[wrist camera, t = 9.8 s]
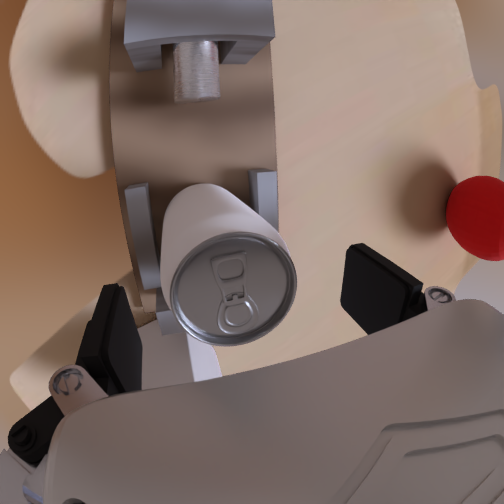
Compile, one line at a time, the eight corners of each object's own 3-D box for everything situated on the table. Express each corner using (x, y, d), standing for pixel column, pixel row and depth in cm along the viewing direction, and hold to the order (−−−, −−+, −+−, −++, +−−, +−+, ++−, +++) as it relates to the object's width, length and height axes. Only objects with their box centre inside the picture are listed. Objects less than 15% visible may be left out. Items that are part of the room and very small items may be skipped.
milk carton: (183, 304, 26) (224, 500, 9) (215, 350, 29) (271, 512, 12) (124, 333, 25) (117, 516, 8) (161, 375, 29) (184, 532, 12)
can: (172, 266, 23) (181, 366, 12) (156, 191, 20) (140, 240, 10) (245, 250, 24) (306, 332, 14) (236, 176, 22) (303, 208, 11)
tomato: (421, 216, 31) (501, 251, 20) (452, 153, 29) (528, 172, 18) (449, 253, 36) (510, 287, 24) (475, 198, 34) (536, 222, 23)
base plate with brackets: (123, -40, 11) (115, -86, 4) (257, -45, 14) (286, -87, 7) (145, 306, 25) (141, 362, 18) (275, 283, 28) (310, 329, 21)
